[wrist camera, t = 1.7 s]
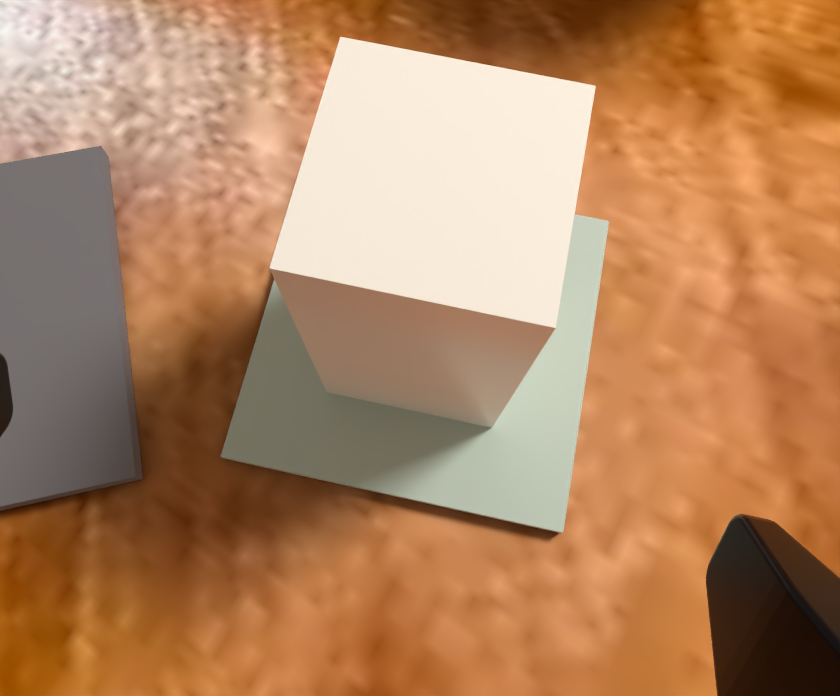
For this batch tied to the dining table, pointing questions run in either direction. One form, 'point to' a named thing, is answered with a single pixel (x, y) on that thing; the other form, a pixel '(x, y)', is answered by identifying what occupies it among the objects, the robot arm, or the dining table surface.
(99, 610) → the dining table surface
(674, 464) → the dining table surface
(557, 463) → the coaster
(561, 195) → the block
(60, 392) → the mat
